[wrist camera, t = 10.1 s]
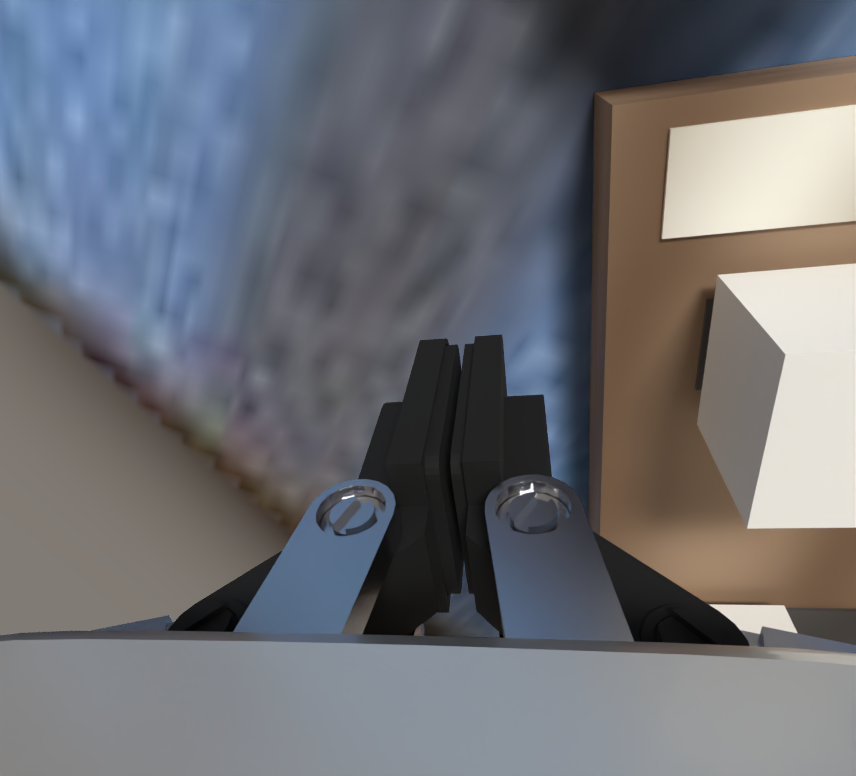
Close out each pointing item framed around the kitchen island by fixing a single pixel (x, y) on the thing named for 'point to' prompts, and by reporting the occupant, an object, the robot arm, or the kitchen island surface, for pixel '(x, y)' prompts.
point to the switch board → (709, 315)
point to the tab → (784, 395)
